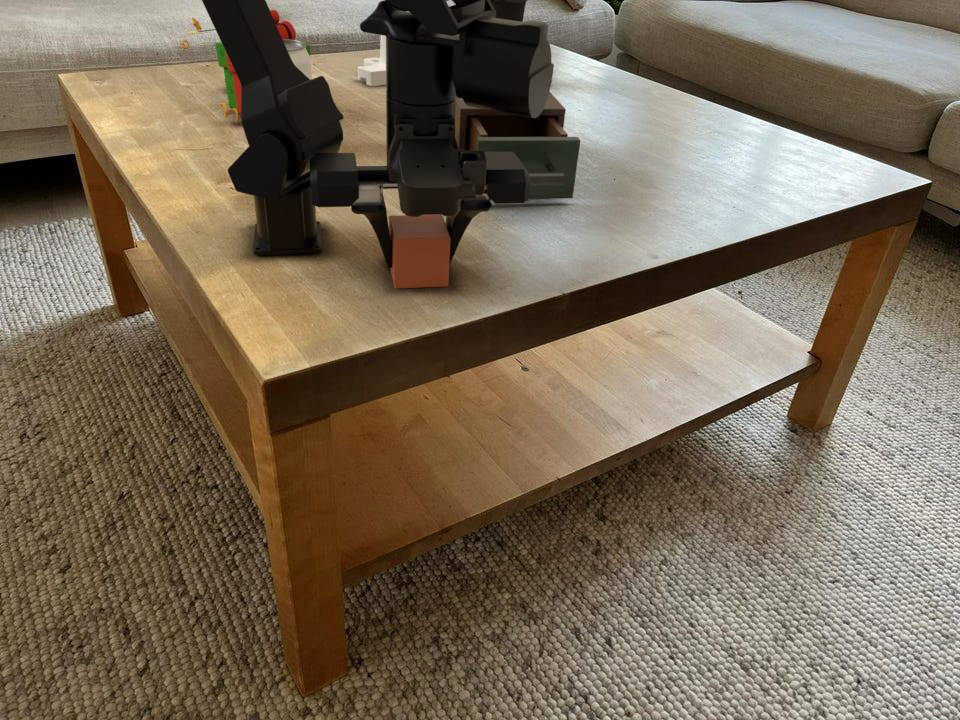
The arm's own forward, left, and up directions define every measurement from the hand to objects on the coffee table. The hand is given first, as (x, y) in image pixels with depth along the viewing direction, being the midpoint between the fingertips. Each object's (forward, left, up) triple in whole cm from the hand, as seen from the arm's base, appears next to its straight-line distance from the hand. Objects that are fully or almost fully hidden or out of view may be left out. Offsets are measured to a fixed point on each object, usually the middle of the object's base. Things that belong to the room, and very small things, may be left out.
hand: (418, 265), depth 72 cm
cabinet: (+30, -14, -1) cm, 33 cm away
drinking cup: (+66, -22, -1) cm, 70 cm away
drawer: (+19, -14, 0) cm, 24 cm away
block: (0, 0, -1) cm, 1 cm away
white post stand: (+69, -3, -1) cm, 69 cm away
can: (+36, +12, -1) cm, 38 cm away
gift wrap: (+48, +17, -1) cm, 51 cm away
